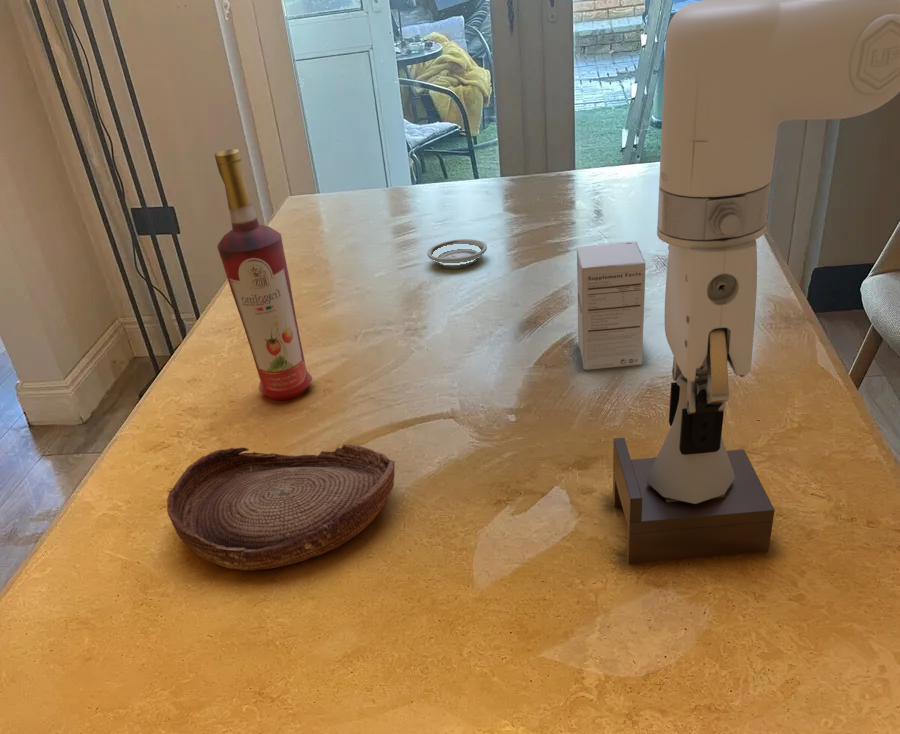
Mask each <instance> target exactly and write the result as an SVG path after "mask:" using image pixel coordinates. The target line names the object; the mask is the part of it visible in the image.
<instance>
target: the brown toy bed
mask: <svg viewBox="0 0 900 734" xmlns="http://www.w3.org/2000/svg"><path fill="white" fill-rule="evenodd" d="M612 440H613V444H612V445H613V447H612V449H613V451H612V453H613V454H612V461H613V462H612V504H613V507H614V508H622V511H623V514H624V518H625V523H626V561H627V563H628V564H631V565H632V564H642V563H654V562H666V561H678V560H690V559H702V558H714V557H725V556H737V555H738V556H739V555H751V554H761V553H762V554H763V553H768V552H769V548H770V543H771V536H772V530H773V524H774V517H775V511H776V510H775V508H774V506H773V504H772V502H771V500H770V498H769V495H768V493H767V492H766V489H765V488H764V485H763V484H762V482H761V480H760V478H759V476H758V474H757V472H756V470H755V468H754V466H753V464H752V462H751V460H750V458H749V457H748V454H747V452H746V450H745V449H744V448H741V449H731V450H730V449H729V450H726V451H727V454H728V457H729V460H730V463H731V466H732V468H733V472H734V475H735V479H734V480H733V482H732V483H731V485H730V486H729V488H728V489H727V491H726V493H725V494H724V495H721V496H718V497H715V498H712V499H709V500H706V501H703V502H700V503H697V504H693V503H689V502H684V501H680V500H675V499H671V498H666V497H663V496H662V495H660V494H659V493H658V492H657V491H656V490H655V489H654V488H653V487H651V486H650V485H649V484H648V483H647V482H646V479H647V477H648V474H649V472H650V470H651V468H652V466H653V464H654V462H655V460H656V458H657V456H656V457H644V458H635V459H633V458H632V459H631V455H630V452H629V448H628V445H627V441H626V438H625V437H618V438H616V437H615V438H613V439H612Z"/></svg>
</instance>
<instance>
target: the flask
mask: <svg viewBox="0 0 900 734" xmlns="http://www.w3.org/2000/svg"><path fill="white" fill-rule="evenodd" d="M696 371H706V369H699V368H697V369H696ZM676 382H677V384H678V385H679V386H680V395H679V403H678V407H677V410H676V414H675V418H674V421H673V423H672V426H670V428H669V430H668V432H667V435H666V437H665V438H664V441H663V444H662V446H661V447H660V450H659V452H658V454H657V456H656V457H657V458H656V460H655V462H654V464H653V466H652V468H651V470H650V472H649V474H648V477H647V479H646V482H647V483H648V484H649V485H650V486H651V487H653V488H654V489H655V490H656V491H657V492H658V493H659V494H660V495H662V496H663V497H666V498H671V499H675V500H680V501H684V502H689V503H693V504H697V503H700V502H703V501H706V500H709V499H712V498H715V497H718V496H721V495H724V494H725V493H726V491H727V489H728V488H729V486H730V485H731V483H732V482H733V480H734V479H735V475H734V472H733V468H732V466H731V463H730V460H729V457H728V454H727V451H728V450H727V449H726V446H725V443H724V440H723V439H724V438H723V436H722V435H721V444H720V449H719V450H718V451H717V452H709V453H699V454H688V455H683V454H681V452H680V449H679V446H680V432H681V418H682V409H684V408H687V378H685V377H684V376H683V374H682V373H681V374H680V375H679V377H678V378H677V381H676ZM707 384H708V382H702V383H697V394H698V393H699V391H700V390H701V389H706V388H707Z"/></svg>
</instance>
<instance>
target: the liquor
mask: <svg viewBox="0 0 900 734" xmlns="http://www.w3.org/2000/svg"><path fill="white" fill-rule="evenodd" d="M213 156H214V158H215V162H216V167H217V170H218V173H219V176H220V177H221V180H222V182H223V185H224V189H225V194H226V200H227V206H228V212H229V219H230V223H231V230H229V231H228V232H227V233H225V234H224V235H223V237H222V238H221V239H220V241H219V242H218V244H217V251H218V254H219V256H220V260H221V263H222V266H223V269H224V272H225V275H226V279H227V281H228V285H229V288H230V291H231V294H232V297H233V300H234V302H235V303H234V304H235V305H236V309H237V311H238V314H239V316H240V320H241V324H242V326H243V329H244V333H245V335H246V338H247V341H248V345H249V347H250V351H251V354H252V358H253V361H254V364H255V368H256V371H257V374H258V378H259V385H258V391H259V392H260V393H262V394H263V395H264V396H267V397H268V398H271V399H272V400H274V401H288V400H292V399H295V398H298V397H299V396H302V395H303V394H304V393H305V391H306V390H307V389H308V387H309V386H310V384H311V383H312V382H313V376H312V375H311V374H310V372H308V370H307V365H306V359H305V355H304V351H303V350H304V349H303V345H302V342H301V336H300V330H299V325H298V321H297V316H296V310H295V304H294V297H293V293H292V285H291V280H290V274H289V270H288V265H287V264H288V263H287V260H286V259H287V258H286V253H285V249H284V243H283V238H282V234H281V233H280V232H279V231H277V230H276V229H274V228H273V227H270V226H268V225H264V224H260V223H259V220H258V218H257V214H256V211H255V209H254V205H253V202H252V199H251V197H250V193H249V190H248V186H247V184H246V181H245V171H244V170H245V169H244V164H243V161H242V157H241V152H240V150H239V149H237V148H232V149H231V148H230V149H224V150H220V151H217V152H215V153H214V155H213Z"/></svg>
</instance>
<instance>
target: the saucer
mask: <svg viewBox="0 0 900 734" xmlns="http://www.w3.org/2000/svg"><path fill="white" fill-rule="evenodd" d="M453 244H469V245H475V246H478V247H479V248H480V249H481V251H480V252H477V251H475V250H472V249H457V250H451V251H447V252H444V253H442V254H440V255H439V256H438V257H434V256H432V254H433V252H434V251H435V250H437V249H438V248H441V247H443V246H447V245H453ZM487 250H488V245H487V244H486V243H485V242H483V241H481V240H477V239H471V238H461V239H452V240H447V241H443V242H440V243H438V244H435V245H433V246H431V247H430V248H429V249H428V250H427V253H426V254H427V257H428V258H429V259H430V260H432V261H433V260H435V261H437V262H442V263H460V262H467V261H471V260H474V259H477V258H478V257H480V256H481V257H483V255H484V253H485V252H487ZM482 254H483V255H482ZM481 257H480V258H481ZM478 260H479V259H477V260H475V261H473V262H469V263H466V264H460V265H442V264H439V265H440V266H443V267H444V268H446V269H453V270H455V269H456V270H457V269H462V268H463V269H464V268H466V267H470V266H471V265H473V264H474V262H476V261H478Z"/></svg>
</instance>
